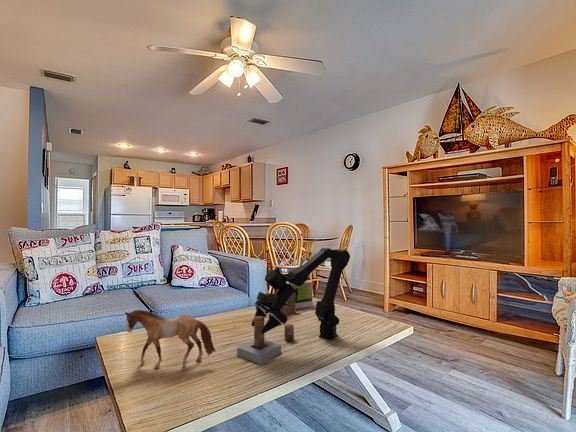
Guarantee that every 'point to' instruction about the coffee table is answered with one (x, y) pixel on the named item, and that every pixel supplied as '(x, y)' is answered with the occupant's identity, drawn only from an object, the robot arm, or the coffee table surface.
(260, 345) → the tall walnut pin
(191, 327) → the horse figurine
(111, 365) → the coffee table surface
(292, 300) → the wooden block
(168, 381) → the coffee table surface
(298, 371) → the coffee table surface
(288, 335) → the short walnut stub
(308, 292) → the tea box
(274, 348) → the slate collar block
